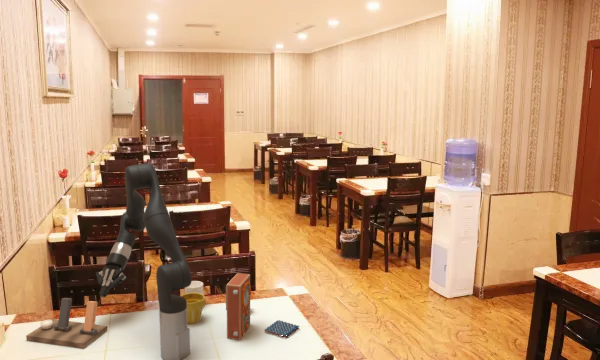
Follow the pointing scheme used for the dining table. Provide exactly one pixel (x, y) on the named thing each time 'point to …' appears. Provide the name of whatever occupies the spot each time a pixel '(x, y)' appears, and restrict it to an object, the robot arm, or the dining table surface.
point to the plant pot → (194, 306)
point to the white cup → (194, 287)
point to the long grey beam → (64, 313)
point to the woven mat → (281, 329)
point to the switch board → (67, 335)
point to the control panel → (238, 306)
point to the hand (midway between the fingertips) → (102, 296)
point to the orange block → (90, 316)
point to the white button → (46, 324)
